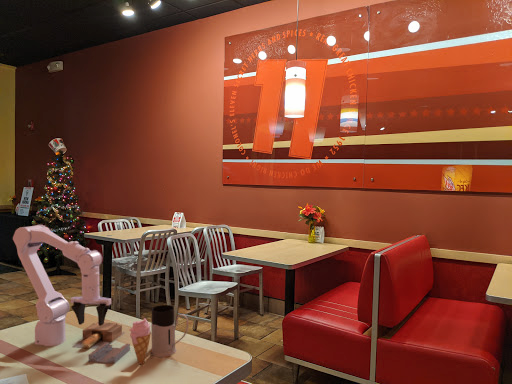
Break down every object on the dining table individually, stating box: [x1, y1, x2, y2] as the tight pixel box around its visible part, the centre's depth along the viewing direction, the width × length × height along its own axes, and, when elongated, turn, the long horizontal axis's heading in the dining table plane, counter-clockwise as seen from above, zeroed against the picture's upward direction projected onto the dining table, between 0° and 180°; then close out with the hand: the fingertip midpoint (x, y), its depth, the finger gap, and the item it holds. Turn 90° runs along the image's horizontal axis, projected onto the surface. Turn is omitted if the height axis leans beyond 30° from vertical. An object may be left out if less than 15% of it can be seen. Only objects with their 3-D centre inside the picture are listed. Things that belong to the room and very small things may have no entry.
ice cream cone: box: [128, 318, 152, 366], centre depth 125 cm, size 7×6×15 cm
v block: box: [88, 342, 131, 365], centre depth 129 cm, size 9×10×3 cm
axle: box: [82, 331, 103, 350], centre depth 142 cm, size 3×14×3 cm, turn 171°
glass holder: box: [150, 304, 189, 358], centre depth 133 cm, size 9×14×15 cm, turn 69°
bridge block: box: [71, 321, 126, 350], centre depth 143 cm, size 12×15×5 cm
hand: (91, 324), depth 138 cm, fingers open, 7 cm apart
